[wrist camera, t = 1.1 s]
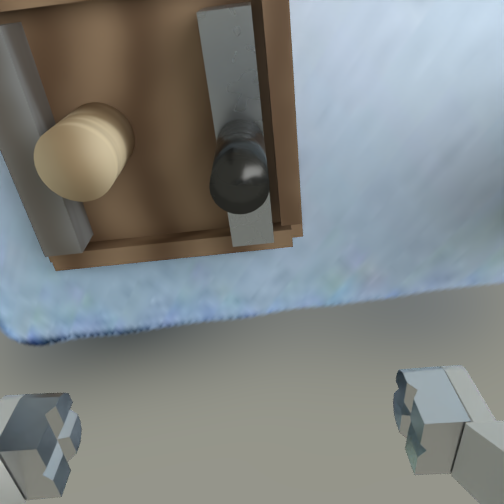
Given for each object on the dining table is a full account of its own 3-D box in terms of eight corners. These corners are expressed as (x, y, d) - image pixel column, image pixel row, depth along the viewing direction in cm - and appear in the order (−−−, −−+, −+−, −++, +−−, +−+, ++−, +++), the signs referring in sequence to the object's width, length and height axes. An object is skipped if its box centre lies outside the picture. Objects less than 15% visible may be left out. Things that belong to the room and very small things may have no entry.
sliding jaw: (249, 1, 28) (252, 13, 18) (270, 211, 36) (281, 303, 26) (203, 7, 29) (180, 23, 18) (234, 215, 36) (230, 307, 26)
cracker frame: (284, -56, 28) (289, -61, 25) (301, 230, 39) (307, 255, 35) (-53, -11, 29) (-93, -9, 26) (55, 256, 40) (37, 282, 36)
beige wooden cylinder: (125, 98, 32) (102, 121, 27) (142, 164, 34) (124, 197, 29) (56, 106, 32) (21, 130, 27) (78, 172, 35) (50, 205, 29)
